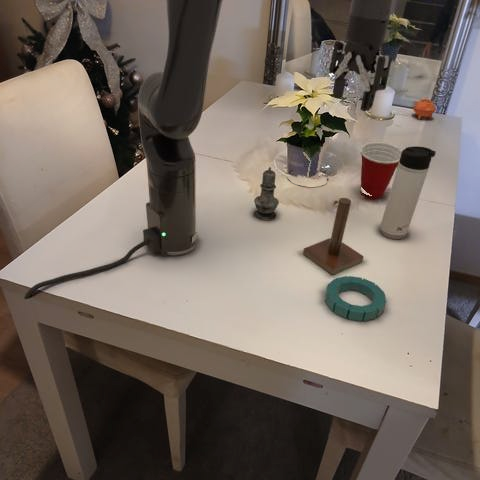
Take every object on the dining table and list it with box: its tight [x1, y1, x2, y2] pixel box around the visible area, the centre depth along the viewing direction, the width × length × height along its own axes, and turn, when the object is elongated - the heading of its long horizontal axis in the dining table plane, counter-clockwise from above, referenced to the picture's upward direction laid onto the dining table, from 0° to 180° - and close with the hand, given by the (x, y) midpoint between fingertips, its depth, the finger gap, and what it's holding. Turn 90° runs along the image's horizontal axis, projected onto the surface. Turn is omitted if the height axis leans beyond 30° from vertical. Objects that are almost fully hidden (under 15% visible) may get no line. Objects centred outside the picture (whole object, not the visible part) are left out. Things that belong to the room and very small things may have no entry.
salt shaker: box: [253, 166, 280, 221], centre depth 111 cm, size 6×6×12 cm
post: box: [302, 197, 364, 276], centre depth 98 cm, size 9×9×14 cm
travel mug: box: [379, 146, 437, 240], centre depth 105 cm, size 6×7×20 cm
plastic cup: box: [359, 141, 403, 200], centre depth 122 cm, size 11×11×12 cm
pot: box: [412, 98, 437, 120], centre depth 173 cm, size 8×8×7 cm
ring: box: [324, 275, 387, 322], centre depth 91 cm, size 11×11×2 cm
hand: (351, 103), depth 100 cm, fingers open, 8 cm apart
